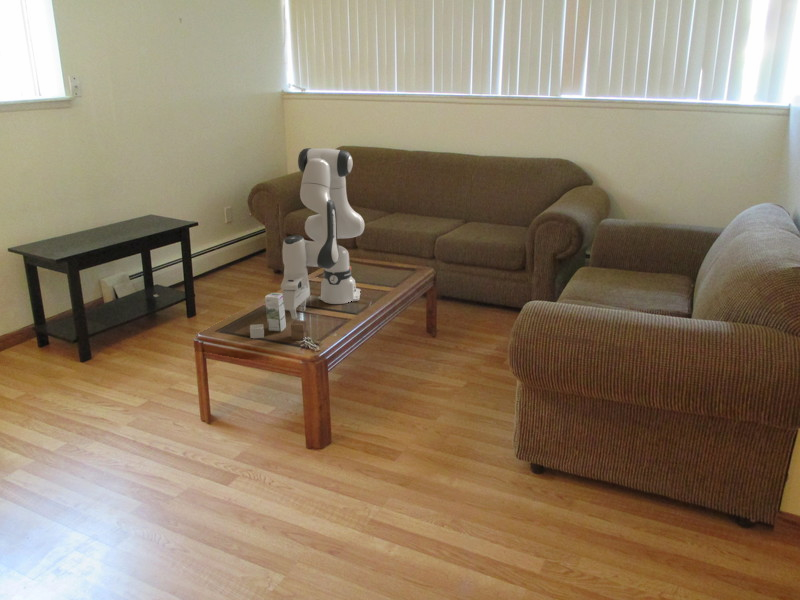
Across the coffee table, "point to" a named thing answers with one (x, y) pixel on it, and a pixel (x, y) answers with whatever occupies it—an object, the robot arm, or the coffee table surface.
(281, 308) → the syrup box
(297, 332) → the walnut block
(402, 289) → the coffee table surface
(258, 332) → the grey block
